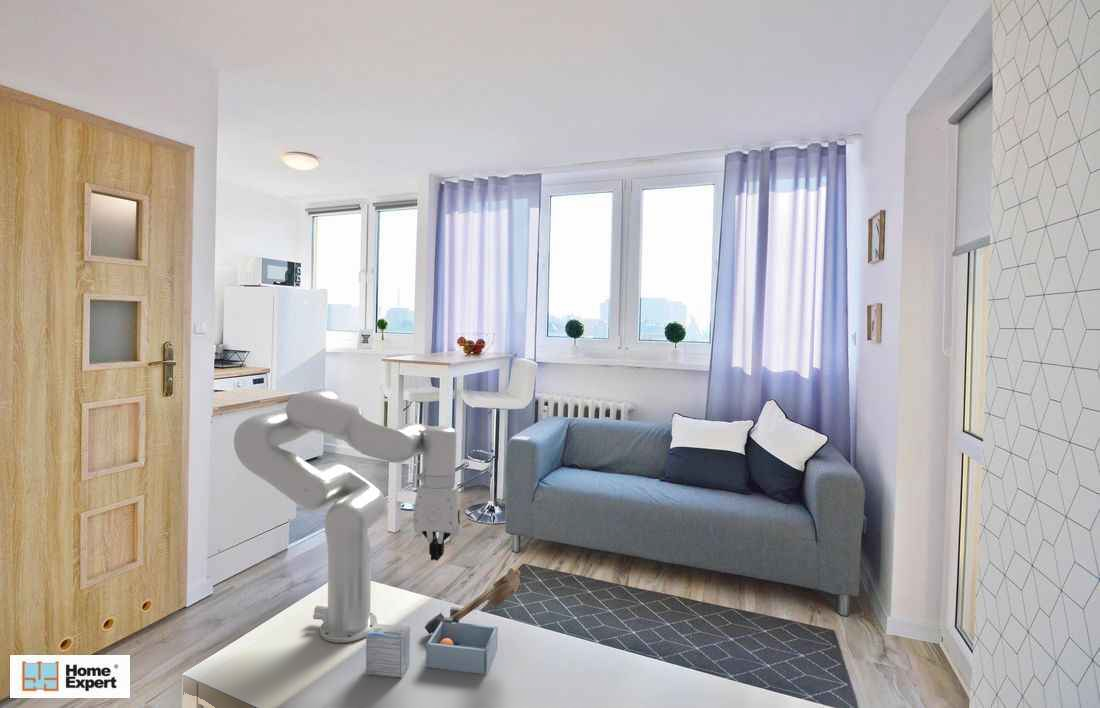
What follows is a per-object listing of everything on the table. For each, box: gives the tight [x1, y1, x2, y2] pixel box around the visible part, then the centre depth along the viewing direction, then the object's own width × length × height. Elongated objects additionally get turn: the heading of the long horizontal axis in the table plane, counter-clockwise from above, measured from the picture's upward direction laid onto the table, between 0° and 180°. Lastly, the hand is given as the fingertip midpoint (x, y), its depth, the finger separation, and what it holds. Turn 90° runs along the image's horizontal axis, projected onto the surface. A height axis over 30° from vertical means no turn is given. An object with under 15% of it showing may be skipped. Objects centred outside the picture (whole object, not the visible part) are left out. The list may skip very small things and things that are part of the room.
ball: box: [440, 638, 453, 645], centre depth 115 cm, size 3×3×3 cm
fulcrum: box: [444, 606, 461, 645], centre depth 122 cm, size 6×7×6 cm
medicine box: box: [365, 623, 411, 679], centre depth 110 cm, size 8×4×9 cm, turn 84°
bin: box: [425, 621, 499, 675], centre depth 115 cm, size 13×9×5 cm
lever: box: [424, 567, 522, 635], centre depth 117 cm, size 27×11×3 cm
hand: (436, 557), depth 122 cm, fingers closed
